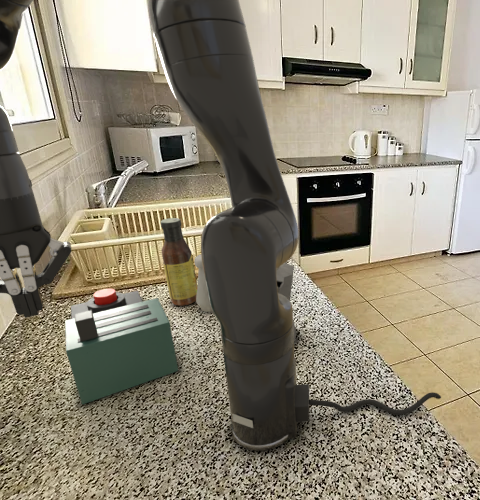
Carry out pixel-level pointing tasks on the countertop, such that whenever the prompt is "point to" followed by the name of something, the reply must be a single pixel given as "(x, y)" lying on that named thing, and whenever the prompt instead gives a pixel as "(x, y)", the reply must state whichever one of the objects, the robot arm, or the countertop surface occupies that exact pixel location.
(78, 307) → the button base
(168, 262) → the sauce bottle
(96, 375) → the toaster
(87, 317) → the toaster slider
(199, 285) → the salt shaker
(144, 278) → the countertop surface
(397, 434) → the countertop surface
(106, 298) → the button
